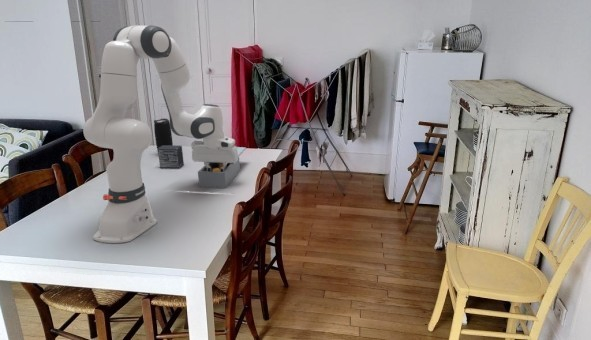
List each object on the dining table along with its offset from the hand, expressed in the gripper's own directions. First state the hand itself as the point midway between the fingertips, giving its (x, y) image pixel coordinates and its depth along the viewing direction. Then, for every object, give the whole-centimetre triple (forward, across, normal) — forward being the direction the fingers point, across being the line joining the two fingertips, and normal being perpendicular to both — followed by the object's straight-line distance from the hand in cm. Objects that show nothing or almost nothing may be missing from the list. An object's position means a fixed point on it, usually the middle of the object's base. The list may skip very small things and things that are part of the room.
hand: (216, 171), depth 182 cm
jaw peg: (+5, 0, 0) cm, 5 cm away
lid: (-2, 0, +17) cm, 17 cm away
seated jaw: (+5, 0, +9) cm, 11 cm away
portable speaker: (+6, -43, +39) cm, 58 cm away
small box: (+6, -31, +21) cm, 38 cm away
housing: (+6, 0, +5) cm, 8 cm away
